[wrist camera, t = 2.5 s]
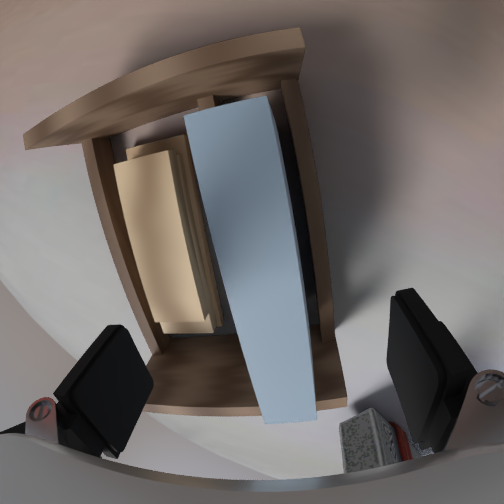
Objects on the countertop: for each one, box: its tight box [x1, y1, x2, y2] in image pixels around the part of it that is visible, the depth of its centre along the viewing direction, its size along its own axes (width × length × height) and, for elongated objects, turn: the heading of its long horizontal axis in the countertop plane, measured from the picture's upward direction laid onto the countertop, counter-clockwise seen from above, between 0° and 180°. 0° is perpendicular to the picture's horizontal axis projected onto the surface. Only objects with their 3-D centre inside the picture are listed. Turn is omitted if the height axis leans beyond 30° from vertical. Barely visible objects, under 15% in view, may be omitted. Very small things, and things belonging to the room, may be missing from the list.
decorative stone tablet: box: [339, 408, 421, 473], centre depth 26 cm, size 19×6×30 cm
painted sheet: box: [184, 96, 317, 424], centre depth 18 cm, size 3×16×14 cm, turn 11°
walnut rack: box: [23, 27, 347, 416], centre depth 21 cm, size 19×24×10 cm
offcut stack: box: [114, 134, 224, 333], centre depth 24 cm, size 6×18×5 cm, turn 8°
